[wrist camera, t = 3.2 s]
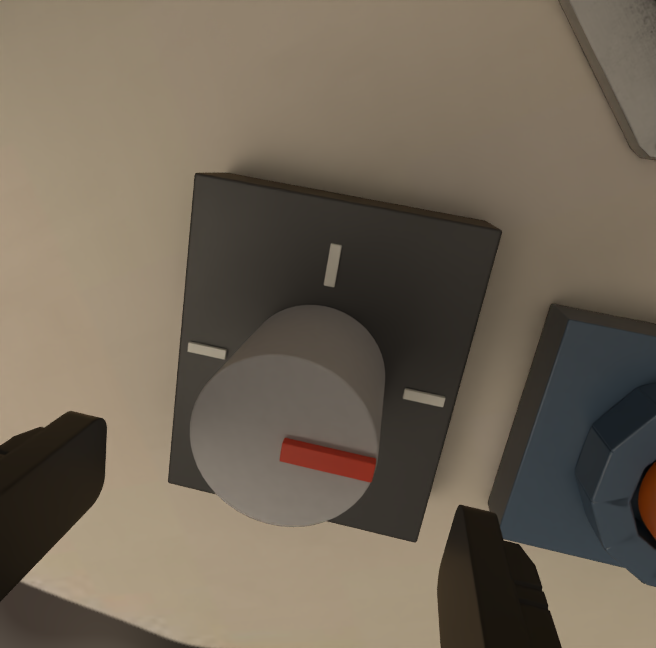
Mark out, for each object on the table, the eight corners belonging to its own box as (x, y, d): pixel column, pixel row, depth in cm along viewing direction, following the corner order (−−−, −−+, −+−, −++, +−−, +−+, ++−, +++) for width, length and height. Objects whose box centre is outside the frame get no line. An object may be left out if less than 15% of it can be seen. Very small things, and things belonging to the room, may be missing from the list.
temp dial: (237, 420, 19) (176, 510, 14) (253, 291, 17) (192, 339, 12) (370, 450, 18) (357, 554, 13) (399, 320, 17) (396, 383, 12)
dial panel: (196, 445, 23) (164, 485, 20) (224, 172, 19) (191, 172, 16) (415, 496, 22) (416, 546, 19) (488, 221, 19) (504, 230, 16)
